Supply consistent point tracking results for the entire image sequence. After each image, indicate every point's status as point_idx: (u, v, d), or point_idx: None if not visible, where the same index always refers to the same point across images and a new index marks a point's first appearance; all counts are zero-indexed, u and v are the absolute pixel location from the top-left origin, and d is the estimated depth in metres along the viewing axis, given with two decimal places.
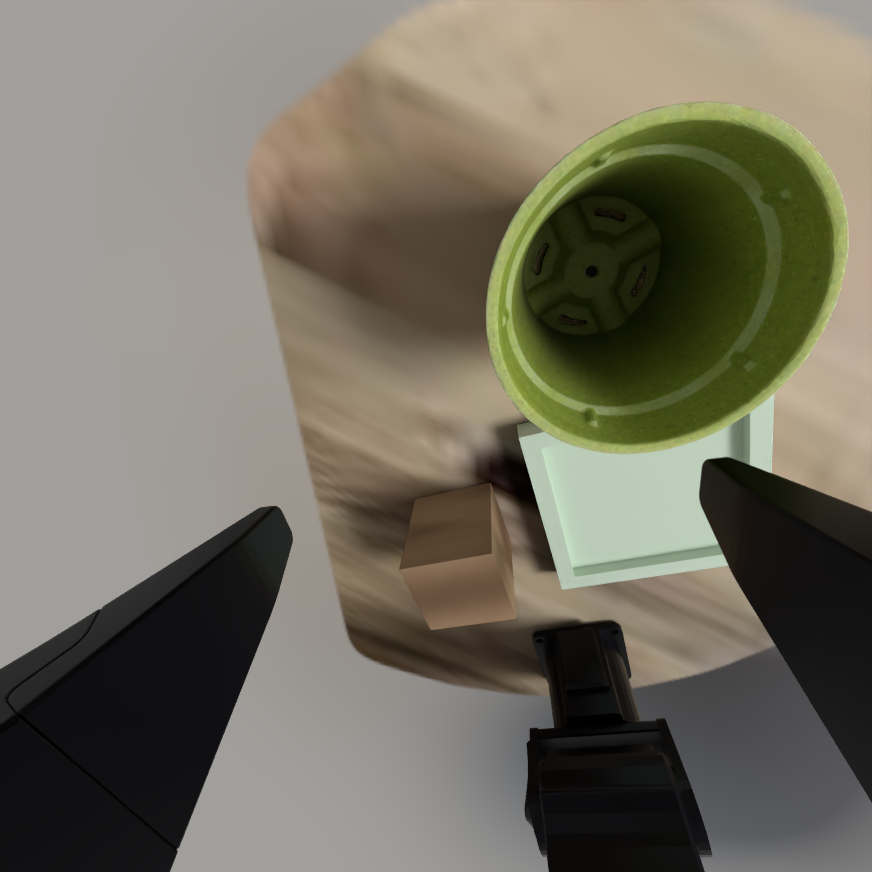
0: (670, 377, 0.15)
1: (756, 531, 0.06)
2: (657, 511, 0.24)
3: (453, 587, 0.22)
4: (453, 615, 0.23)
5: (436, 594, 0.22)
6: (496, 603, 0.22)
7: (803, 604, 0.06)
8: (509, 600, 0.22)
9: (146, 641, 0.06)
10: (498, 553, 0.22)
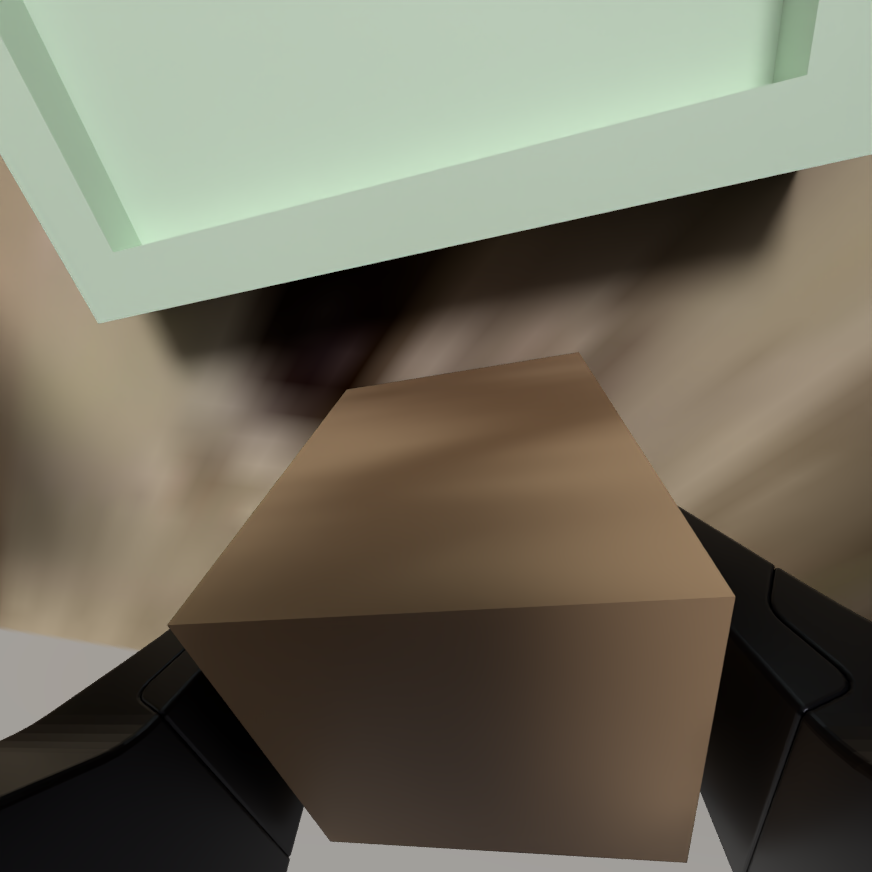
0: None
1: None
2: None
3: (416, 764, 0.05)
4: (607, 799, 0.05)
5: (457, 806, 0.05)
6: (547, 660, 0.04)
7: None
8: (539, 601, 0.03)
9: None
10: (339, 522, 0.05)
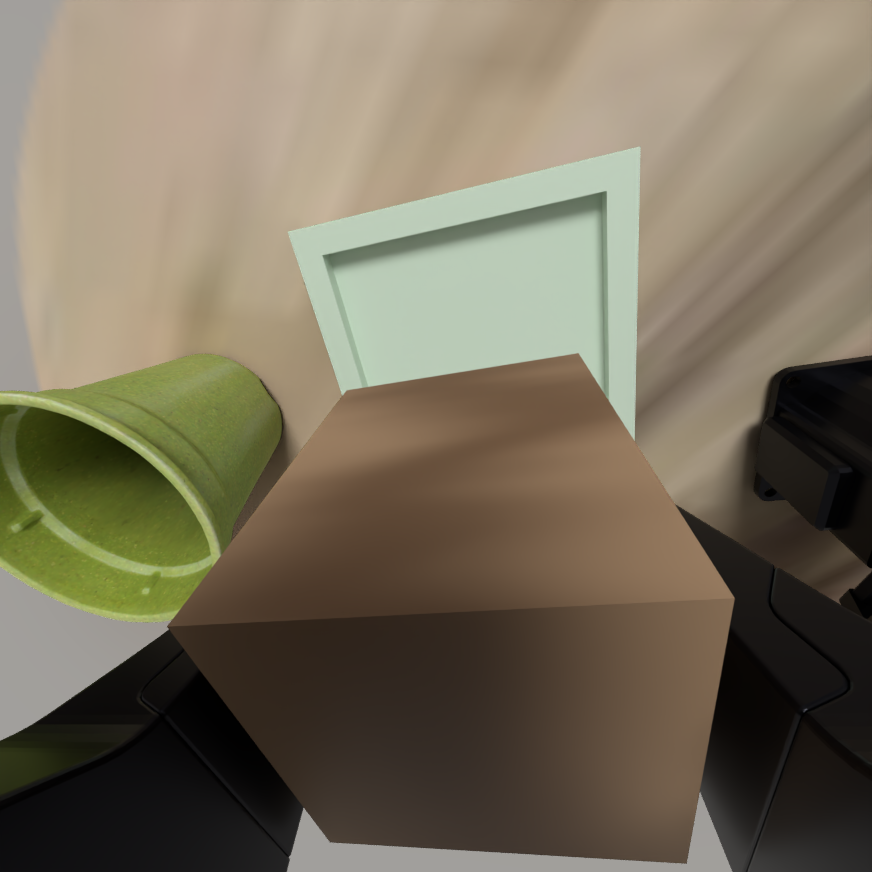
0: None
1: None
2: (511, 338, 0.17)
3: (416, 765, 0.05)
4: (607, 800, 0.05)
5: (457, 807, 0.05)
6: (547, 663, 0.04)
7: None
8: (539, 603, 0.03)
9: None
10: (339, 523, 0.05)
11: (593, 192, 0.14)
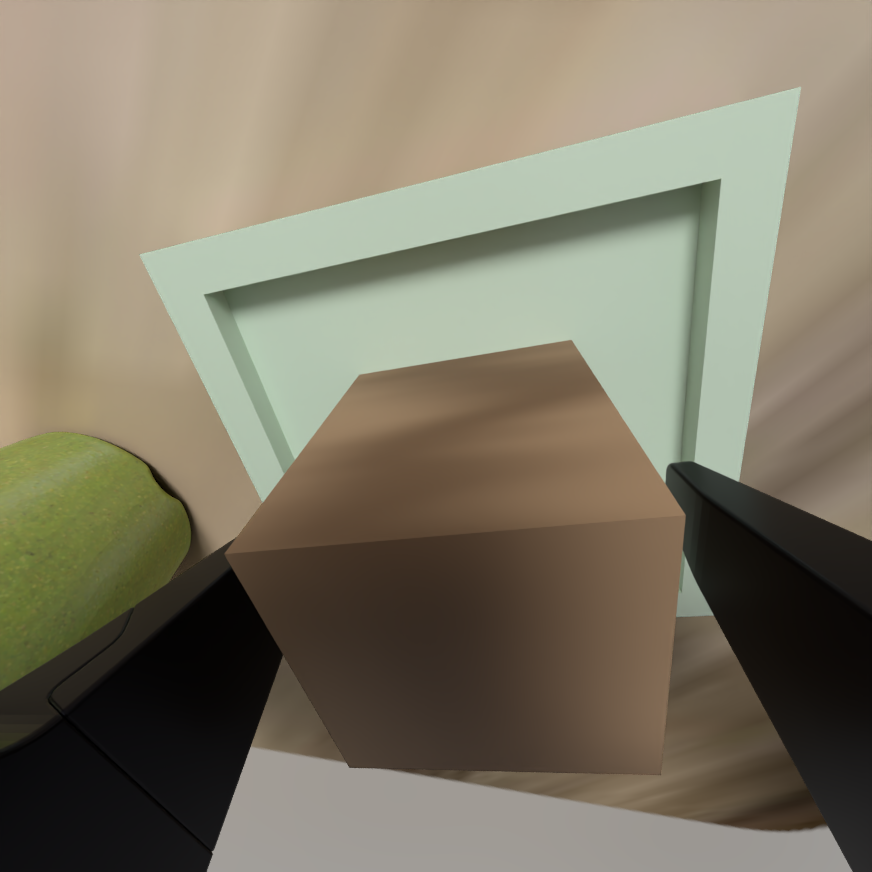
0: None
1: (711, 534, 0.06)
2: None
3: (428, 683, 0.06)
4: (590, 712, 0.06)
5: (462, 725, 0.06)
6: (539, 578, 0.05)
7: (752, 606, 0.06)
8: (532, 525, 0.04)
9: (181, 640, 0.06)
10: (362, 477, 0.06)
11: (694, 181, 0.07)
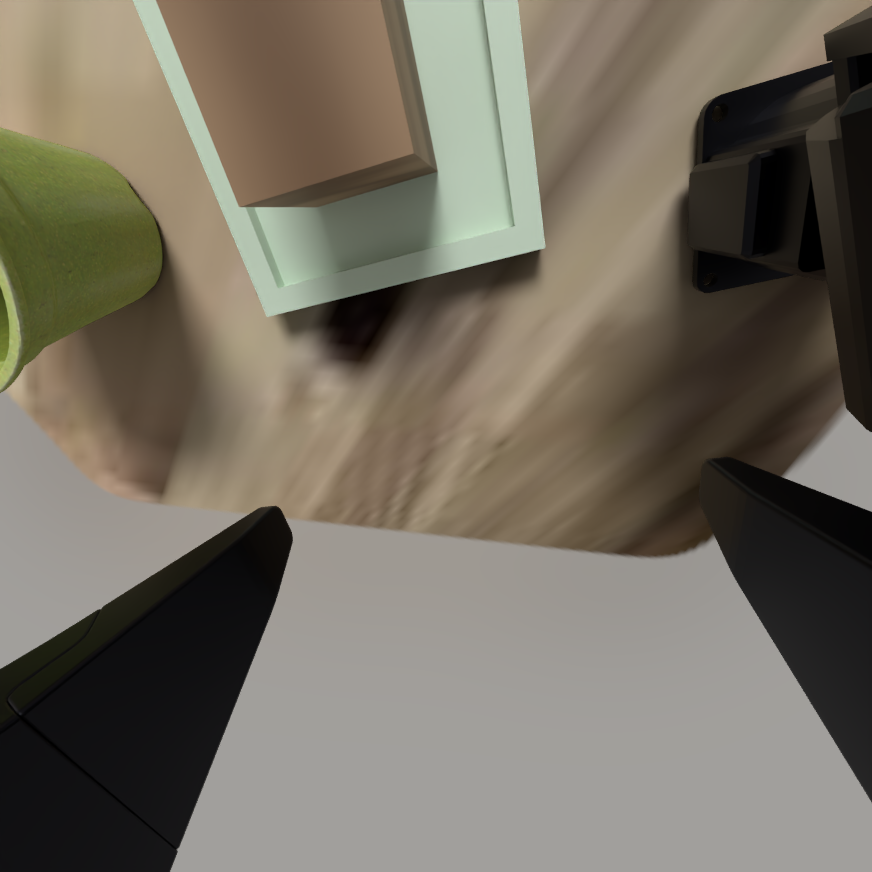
0: None
1: (756, 531, 0.06)
2: None
3: (264, 73, 0.10)
4: (356, 81, 0.10)
5: (292, 123, 0.10)
6: None
7: (803, 604, 0.06)
8: None
9: (147, 642, 0.06)
10: None
11: None
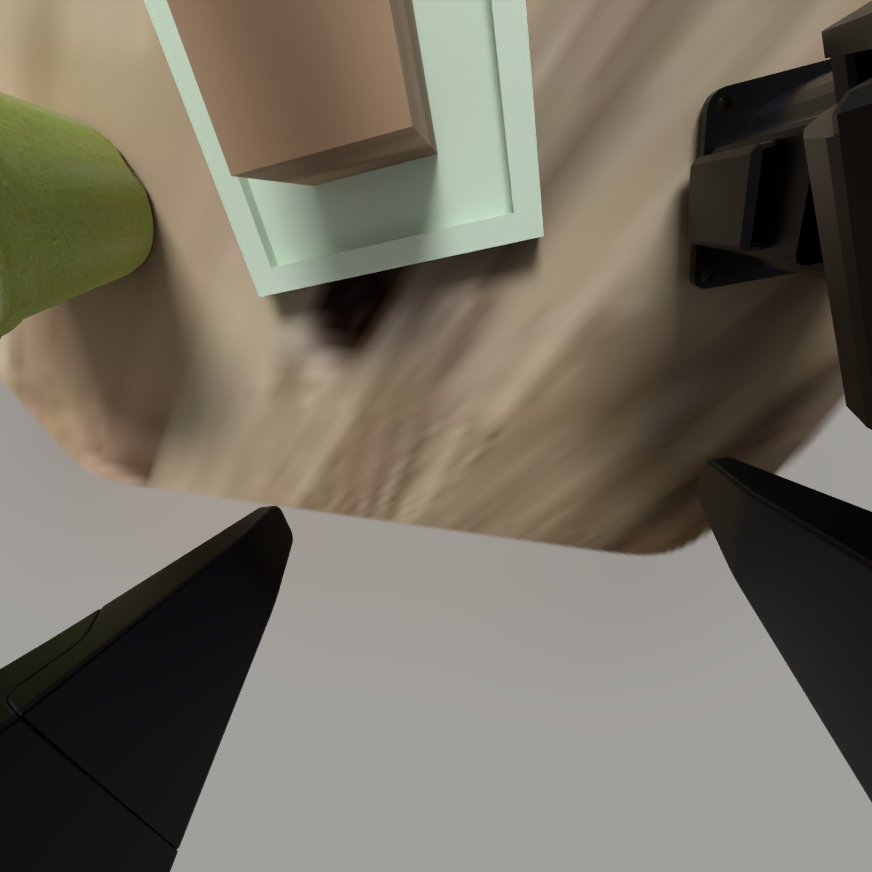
0: None
1: (756, 531, 0.06)
2: None
3: (260, 35, 0.10)
4: (355, 48, 0.09)
5: (288, 89, 0.10)
6: None
7: (803, 604, 0.06)
8: None
9: (147, 642, 0.06)
10: None
11: None
